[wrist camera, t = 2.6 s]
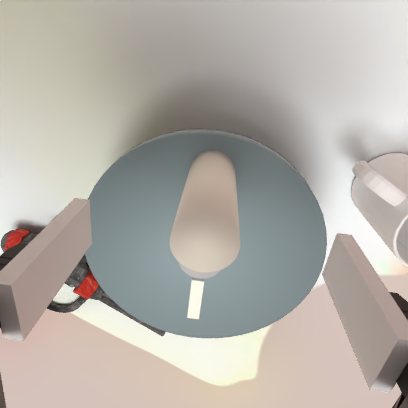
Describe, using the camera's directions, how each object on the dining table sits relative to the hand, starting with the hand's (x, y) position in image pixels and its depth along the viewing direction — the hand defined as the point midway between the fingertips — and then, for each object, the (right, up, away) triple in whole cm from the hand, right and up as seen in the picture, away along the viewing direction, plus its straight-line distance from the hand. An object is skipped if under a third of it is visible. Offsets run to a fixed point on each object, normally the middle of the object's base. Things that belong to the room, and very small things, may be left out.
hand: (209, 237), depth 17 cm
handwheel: (0, -2, +13) cm, 13 cm away
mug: (+19, +5, +18) cm, 27 cm away
